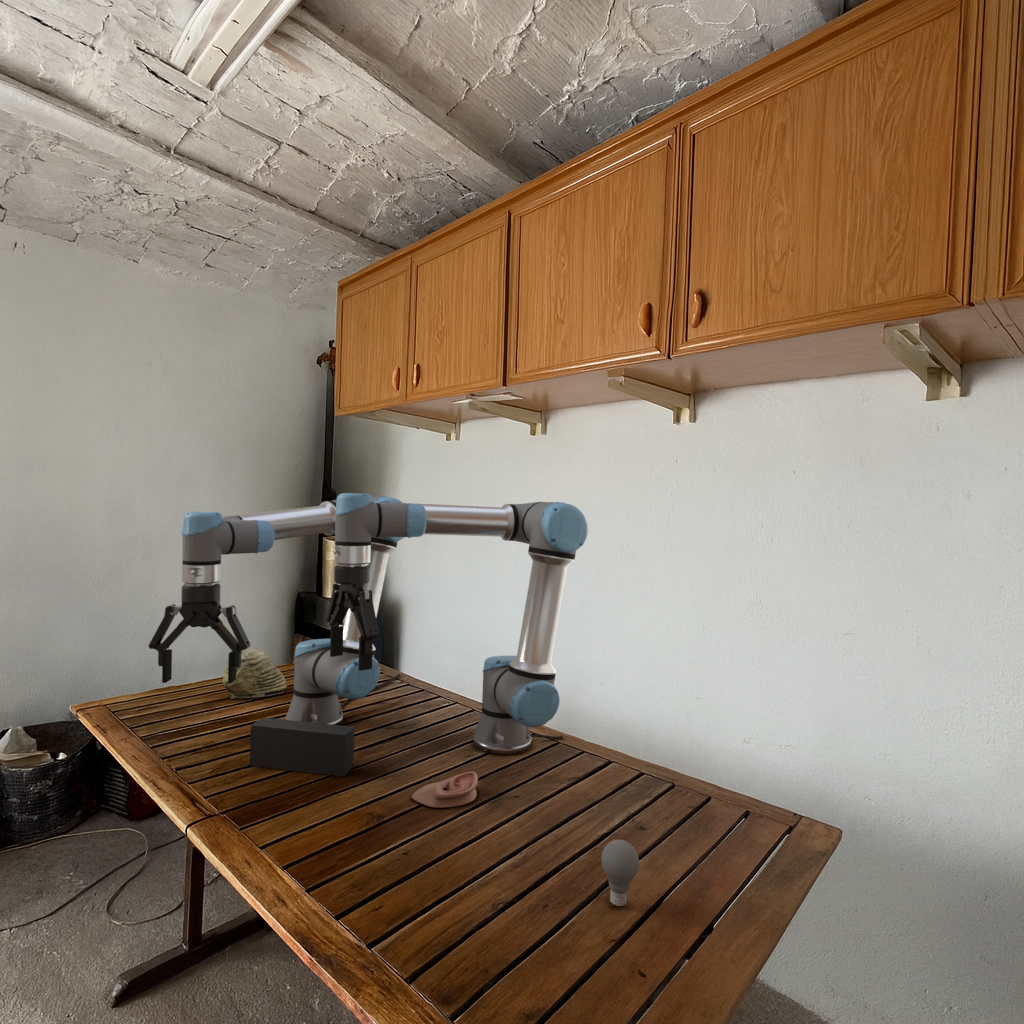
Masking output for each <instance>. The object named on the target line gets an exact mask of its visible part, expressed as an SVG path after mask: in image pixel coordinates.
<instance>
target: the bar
mask: <svg viewBox="0 0 1024 1024" xmlns="http://www.w3.org/2000/svg"><path fill="white" fill-rule="evenodd" d="M355 728H356V727H355V726H350V725H349V726H348V725H342V724H340V725H331V724H321V723H311V722H302V721H292V720H286V719H283V718H271V717H262V718H260V719H259V720H257V721H256V722H254V723H252V724H251V725H250V740H249V742H250V743H249V767H258V768H264V769H265V768H266V769H273V770H283V771H292V772H301V773H309V774H317V775H318V774H319V775H327V776H335V777H336V776H337V777H343V778H344V777H345V776H346V775H347V774H348V773H349V772H350V771H351V770H352V769H353V768H354V757H355V756H354V752H355V730H356V729H355Z"/></svg>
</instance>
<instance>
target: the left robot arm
mask: <svg viewBox="0 0 1024 1024" xmlns="http://www.w3.org/2000/svg"><path fill="white" fill-rule="evenodd" d="M371 496H372V495H371ZM372 501H373V502H374V503H380V502H393V503H403V502H402V501H401V500H400V499H397V498H395V497H389V496H384V495H383V496H372ZM336 502H337V499H334V500H333V499H332V500H326V501H323V502H321V503H320V504H319V505H315V506H304V507H298V508H297V507H296V508H287V509H279V510H271V511H261V512H253V513H243V514H236V515H225V516H223V514H222V513H221V512H218V511H189V512H186V513H185V514H184V517H183V520H182V521H183V522H182V531H181V535H182V536H181V537H182V558H181V559H182V561H181V582H182V583H183V585H182V586H181V605H180V606H179V605H176V604H175V603H172V604H170V605H168V606H166V607H165V608H164V615H163V618H162V620H161V622H160V623H159V625H158V627H157V629H156V631H155V632H154V635H153V636H152V638H151V640H150V642H149V644H148V648H149V649H150V650H155V651H157V665H158V667H161V668H162V669H161V683H163V684H167V683H168V682H169V681H172V680H173V679H172V676H173V675H172V673H173V671H172V670H173V665H172V664H173V649H172V648H171V649H169V648H170V646H172V644H173V643H174V642H175V641H176V640H177V639H178V638H179V637H180V635H181V634H182V633H183V632H184V631H185V630H186V629H187V628H188V627H189V626H190V627H191V628H198V627H200V628H208V627H209V628H210V629H211V630H213V631H215V633H216V634H217V635H218V636H219V637H220V639H222V641H223V642H224V643H225V645H226V646H227V647H228V648H229V649H230V650H231V651H229V653H228V660H229V662H228V661H227V662H228V683H233V682H234V681H235V680H236V667H238V666H240V664H241V651H242V650H246V649H247V648H251V642H250V640H249V638H248V636H247V634H246V632H245V630H244V628H243V625H242V624H241V621H240V619H239V618H238V615H237V609H236V605H234V604H232V605H230V606H221V588H222V587H221V584H220V582H221V580H222V556H224V555H241V554H256V555H257V554H259V553H267V552H269V551H270V550H271V549H272V548H273V546H274V543H275V541H278V540H284V539H291V538H299V537H307V536H311V535H312V536H313V535H318V534H324V535H325V536H335V513H336ZM404 538H405V537H371V558H370V563H368V566H369V567H370V581H369V582H368V583H365V584H364V591H367V590H371V591H372V600H373V606H374V611H375V616H376V618H377V617H378V613H379V607H380V603H381V597H382V592H383V587H384V582H385V579H386V578H385V577H386V573H387V568H388V563H389V558H390V554H391V553H393V552H395V551H396V550H397V547H398V542H399V541H401V540H403V539H404ZM178 614H180V616H181V617H182V618H183V619H182V620H181V621H180V622H179V623H178V624H177V626H176V627H175V628H174V629H173V630H172V631H171V633H169V634H168V635H167V637H166V638H165V639H164V637H165V636H166V634H167V632H168V629H169V628H170V626H171V624H172V623H173V621H174V618H175V617H176V616H177V615H178ZM221 615H223V617H225V618H226V620H227V622H228V625H229V626H230V628H231V631H232V632H233V634H232V633H231V632H230V631H229V629H228V628H227V627H226V625H225V624H224V623H223V621H222V620H221V618H220V616H221ZM343 623H344V625H341V626H343V655H341V656H334V657H331V656H330V638H317V639H308V640H304V641H300V642H299V643H297V645H296V646H295V650H294V655H293V657H294V672H293V673H294V674H293V695H292V696H293V697H292V699H291V702H290V704H289V708H288V711H287V713H286V715H285V720H292V721H302V722H311V723H321V724H331V725H342V723H343V722H344V713H343V709H342V708H343V707H344V706H345V705H346V703H348V702H349V701H350V700H353V701H355V700H356V701H357V700H360V699H363V698H365V697H367V696H368V695H369V694H370V693H371V692H372V691H373V690H376V689H378V688H381V687H383V686H385V685H387V684H389V683H391V682H392V681H394V680H396V679H397V678H398V677H400V676H401V674H400V673H397V674H396V675H395V676H394V677H392V678H391V679H389V680H386V681H385V682H382V683H380V684H378V682H379V680H380V676H381V666H380V665H379V661H378V660H377V659H376V658H375V655H376V649H377V647H375V645H374V644H373V645H372V669H368V670H362V671H359V670H358V668H359V637H360V636H361V634H360V631H359V628H358V625H357V622H356V619H355V616H354V613H353V612H351V610H350V609H348V611H347V613H346V615H345V618H344V620H343ZM373 631H374V630H373ZM163 639H164V640H163ZM377 684H378V685H377ZM339 697H340V698H342V699H345V700H344V701H343V702H342V703H341V702H340V699H339Z"/></svg>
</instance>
